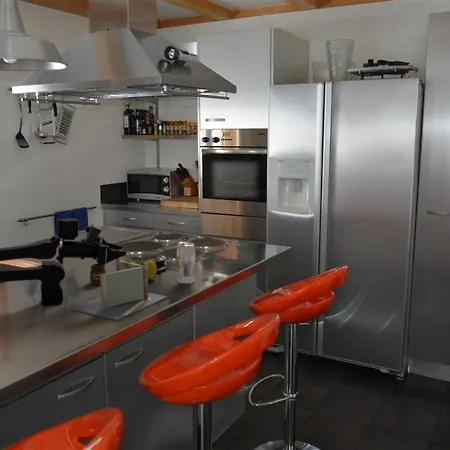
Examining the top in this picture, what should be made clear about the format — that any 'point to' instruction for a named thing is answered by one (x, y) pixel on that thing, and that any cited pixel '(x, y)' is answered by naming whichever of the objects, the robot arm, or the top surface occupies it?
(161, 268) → the salad plate
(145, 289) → the fence fixed section
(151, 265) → the lemon
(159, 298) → the card
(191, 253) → the beer glass
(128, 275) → the pale green panel
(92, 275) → the brown jar
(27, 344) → the top surface
